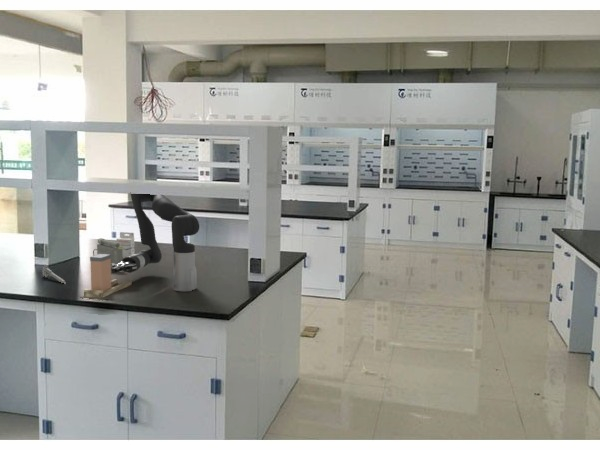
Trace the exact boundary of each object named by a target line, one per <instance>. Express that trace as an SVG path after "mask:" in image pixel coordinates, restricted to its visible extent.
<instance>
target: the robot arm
mask: <svg viewBox="0 0 600 450" xmlns="http://www.w3.org/2000/svg"><path fill="white" fill-rule="evenodd" d="M130 199H131V201H132V202H131V203H132V206H133V210H134V213H135V216H136V217H135V218H136V220H137V223H138V229H139V235H140V237H139V238H140V242H141V244H142V245H144V246H148V247H149V249H142V250H140V251H139V252H138V253H134V254H133V255H130V256H128V257H125V258H124V259H123V260H122V262H120V263H118V264H114V263H111V265H112V269H111V274H116V273H122V272H124V273H127V274H128V273H130V274H131V273H134V272H136V271H138V270H141V269H142V268H145V267H146V266H148V265H149V264H157V263H160V262H161V261H162V251H161V249H160V246H159V243H158V242H157V240H156V238H157V237H156V232H155V231H156V230H155V227H154V223H153V222H152V220H151V219H150V218H149V217H148V215H147V214H146V213H145V211H144V209H143V206H142V203H146V202H147V203H148V202H151V203H152V204H151V208H152V209H151V210H152V211H153V213H154V214H155V215H156V216H158V217H159V218H160V219H162V220H164V221H167V222H170V223H171V240H172V248H173V290H174V291H176V292H193V291H195V290H196V289H197V288H198V287H197V282H198V281H197V280H198V279H197V278H198V277H197V274H198V273H197V271H198V270H197V267H196V265H195V264H196V260H195V259H196V256H195V255H196V252H195V250H196V247H195V245H194V244H193V243H191V242H187V241H186V240H185V237H189V236H194V235H196V234H197V233H199V230H200V222H199V220H198V218H197V217H196V216H195V215H194V214H192V213H190V212H187V210H184V209H183V208H181V207H180V206H178V205H177V204H176V203H175V202H173V201H172V200H171V199H170V198H169V197H166V196H165V195H164V194H163V195H150V194H131V193H130ZM192 290H193V291H192Z"/></svg>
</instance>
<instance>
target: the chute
mask: <svg viewBox="0 0 600 450" xmlns="http://www.w3.org/2000/svg"><path fill="white" fill-rule="evenodd" d="M118 281H119V280H118V278H117V279H116V278H114V279H111V288H110V289H108V290H105V291H103V290H92V289H91V288H84V289H83V296H79V299H80V298H89V299H88V300H90V299H98V300H97V301H100V300H107V301H108V298H106V297H107V296H110V295H112V294H114V293H117V292H119V291H120V290H123V289H125V288H128V287H130V286H132V285H133V284H132V282H133V281H132V280H130V279H128V280H126V281H124V282H122V283H118ZM105 298H106V299H105Z"/></svg>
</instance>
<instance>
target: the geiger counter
mask: <svg viewBox="0 0 600 450" xmlns="http://www.w3.org/2000/svg"><path fill="white" fill-rule="evenodd" d="M97 243H98V244H97ZM97 243H96V248H95V249H93V251H92V254H93V255H92V256H95V255H98V254H109V255H111V263H114V264H118V263H120V262H122V260H123V250H122V249H121V248H118V247H119V246H120V244H119V243H117V241H116V242H115V241H111V240H107V239H105V238H101V237H100V238H98V240H97ZM95 251H96V253H97V254H95ZM111 270H112V265H111Z"/></svg>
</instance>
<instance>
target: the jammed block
mask: <svg viewBox="0 0 600 450" xmlns="http://www.w3.org/2000/svg"><path fill="white" fill-rule="evenodd" d="M94 255H95V256H94ZM94 255H92V256H90V257H89V261H90V287H91V288H90V289H92V290H103V291H105V290H108V289H110V288H112V286H111V281H112V269H111V255H109V254H98V255H97V254H94Z"/></svg>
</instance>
